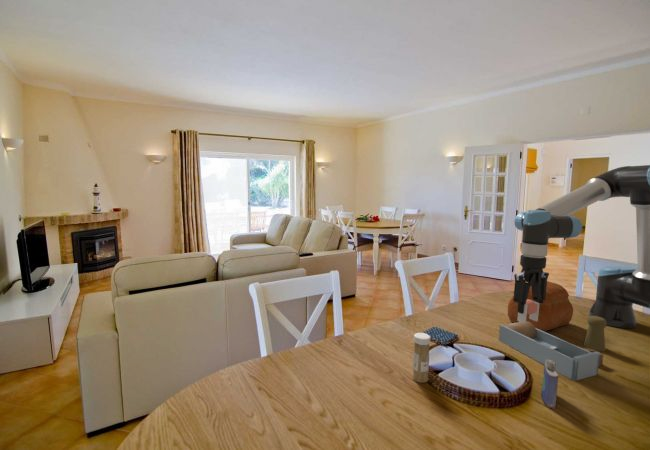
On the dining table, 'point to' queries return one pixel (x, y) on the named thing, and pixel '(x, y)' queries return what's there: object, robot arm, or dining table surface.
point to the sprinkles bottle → (421, 357)
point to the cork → (595, 333)
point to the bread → (547, 308)
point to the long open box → (550, 350)
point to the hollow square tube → (599, 358)
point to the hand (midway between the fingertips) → (527, 320)
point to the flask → (549, 384)
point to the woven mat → (441, 335)
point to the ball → (531, 306)
